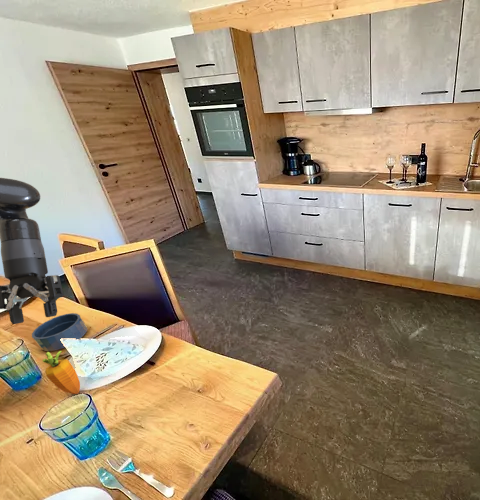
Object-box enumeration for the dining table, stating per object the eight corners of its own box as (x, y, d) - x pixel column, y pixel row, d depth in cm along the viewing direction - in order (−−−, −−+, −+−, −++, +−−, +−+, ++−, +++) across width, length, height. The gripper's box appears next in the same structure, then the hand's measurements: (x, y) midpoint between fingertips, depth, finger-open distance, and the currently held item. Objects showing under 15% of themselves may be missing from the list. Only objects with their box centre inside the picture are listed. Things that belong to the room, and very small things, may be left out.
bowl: (35, 357, 91) (24, 344, 88) (49, 333, 101) (40, 320, 98) (82, 343, 96) (73, 330, 93) (92, 321, 105) (84, 309, 102)
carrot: (69, 390, 80) (38, 351, 73) (91, 382, 82) (63, 344, 75) (63, 404, 76) (30, 365, 69) (86, 396, 78) (56, 357, 71)
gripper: (-22, 264, 71) (-11, 329, 71) (36, 252, 72) (47, 317, 71) (13, 264, 79) (23, 322, 78) (65, 253, 79) (76, 311, 78)
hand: (34, 320), depth 74 cm, fingers open, 8 cm apart
